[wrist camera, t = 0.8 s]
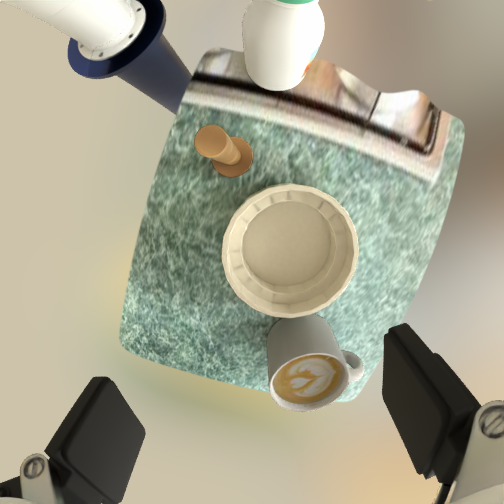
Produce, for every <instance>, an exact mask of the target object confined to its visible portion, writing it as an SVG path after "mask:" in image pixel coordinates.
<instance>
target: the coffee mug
mask: <svg viewBox="0 0 504 504" xmlns="http://www.w3.org/2000/svg"><path fill="white" fill-rule="evenodd" d="M267 359H268V378H269V391H270V394H271V396H272V398H273V400H274V401H275V402H276V403H277V404H278V405H280V406H282V407H283V408H286V409H289V410H292V411H301V412H304V411H313V410H317V409H320V408H323V407H325V406H327V405H329V404H331V403H333V402H334V401H336V400H337V399H338V398H339V397H340V396H341V395H342V394H343V393H344V391H345V390H346V388H347V386H348V384H349V382H355V381H358V380H359V379H360V378H361V377H362V376H363V374H364V365H363V363H362V361H361V359H360V358H359V357H358V356H357V355H355V354H354V353H352V352H349V351H344V350H340V347H339V345H338V343H337V341H336V338H335V336H334V334H333V332H332V329H331V327H330V325H329V324H328V322H327V321H326V320H325V319H323V318H322V317H320V316H318V315H316V314H310V315H305V316H300V317H295V318H282V319H281V320H279V321H278V322H277V323H275V325H274V326H273V327H272V328H271V330H270V332H269V334H268V337H267ZM347 364H349V365H350V366H351V367H352V368H353V369H352V368H349V367H348V366H347Z"/></svg>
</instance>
